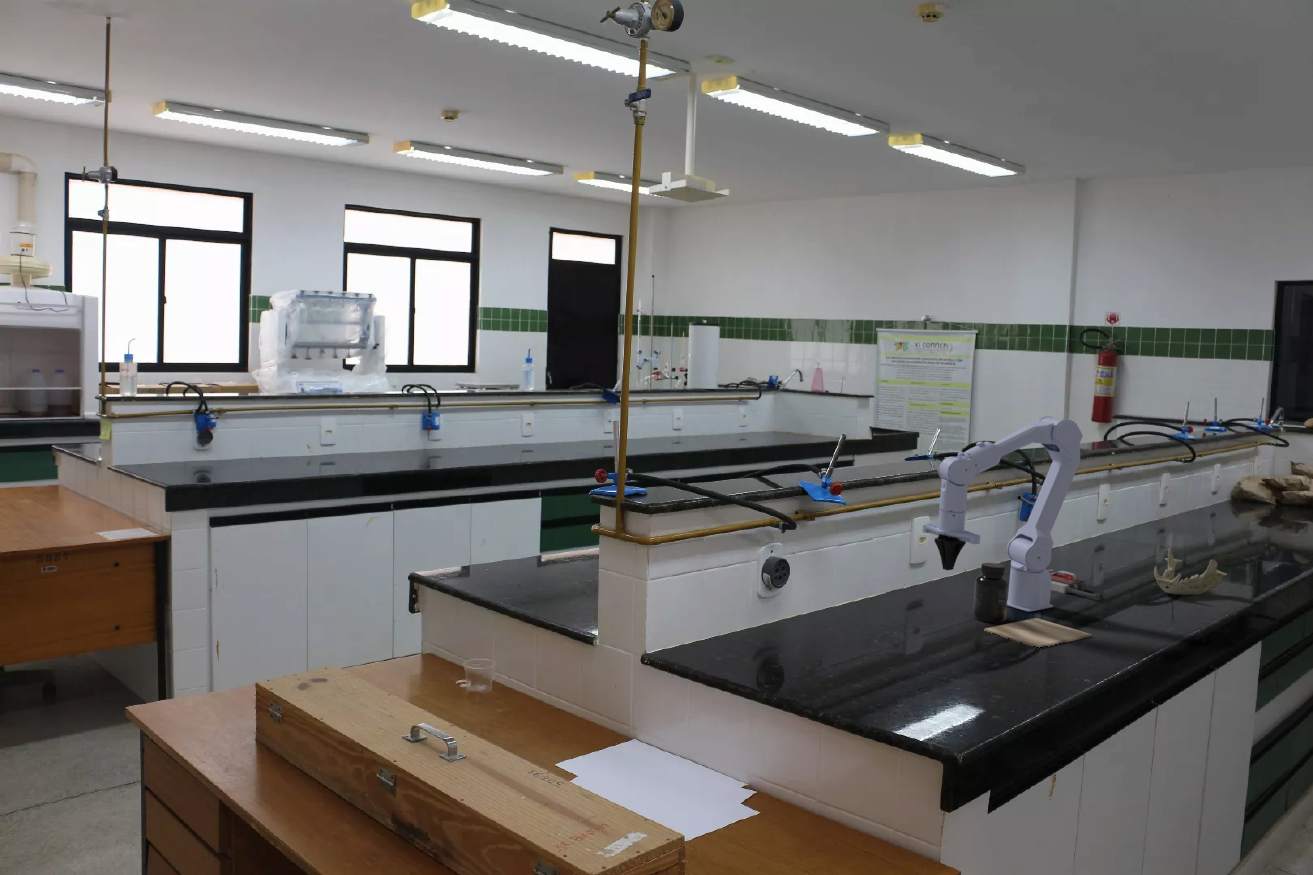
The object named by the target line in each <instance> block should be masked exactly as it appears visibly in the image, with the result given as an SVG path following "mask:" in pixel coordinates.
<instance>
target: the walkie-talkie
mask: <svg viewBox="0 0 1313 875" xmlns="http://www.w3.org/2000/svg"><path fill="white" fill-rule="evenodd" d="M1046 570H1047V571H1048V572H1049V573H1050V576H1051V580H1052V583H1051V591H1054V592H1057V591H1058V593H1061V594H1074V595H1079V596H1083V597H1088V598H1093V599H1098V595H1097V594H1094V593H1090V592H1087V591H1085V590H1086V589H1087V584H1086V581H1085V580H1084V579H1079V577H1078V575H1077V574H1076V573H1073V572H1069V571H1066V570H1059V571H1056V572H1054V569H1046Z"/></svg>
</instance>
